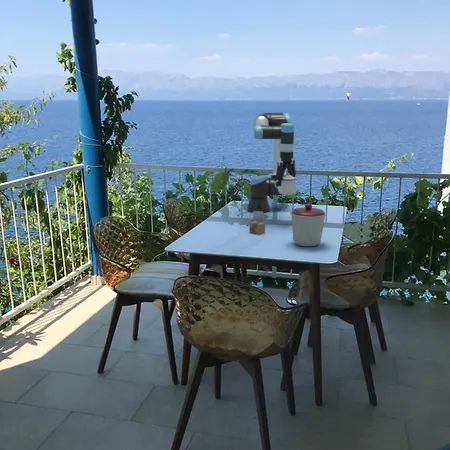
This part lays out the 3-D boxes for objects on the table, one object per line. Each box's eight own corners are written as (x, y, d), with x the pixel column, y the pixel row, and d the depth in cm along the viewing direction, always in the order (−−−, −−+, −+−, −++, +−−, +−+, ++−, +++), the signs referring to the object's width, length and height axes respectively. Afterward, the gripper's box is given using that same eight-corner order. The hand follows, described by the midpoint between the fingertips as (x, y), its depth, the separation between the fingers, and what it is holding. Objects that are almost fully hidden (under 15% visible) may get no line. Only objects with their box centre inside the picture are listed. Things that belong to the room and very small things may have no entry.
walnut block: (249, 232, 262) (249, 222, 260) (255, 231, 265) (255, 220, 264) (259, 235, 257) (259, 224, 256) (264, 233, 261) (265, 223, 259)
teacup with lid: (296, 192, 275) (296, 172, 272) (293, 195, 266) (294, 174, 263) (275, 191, 278) (276, 171, 275) (272, 193, 270) (273, 173, 267)
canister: (300, 237, 253) (302, 198, 248) (331, 243, 242) (333, 203, 237) (282, 244, 240) (283, 204, 234) (313, 251, 228) (315, 209, 223)
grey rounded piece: (250, 225, 278) (250, 212, 276) (257, 223, 283) (257, 210, 281) (258, 227, 274) (258, 213, 272) (265, 225, 279) (265, 211, 277)
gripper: (280, 153, 256) (279, 193, 262) (303, 150, 272) (301, 188, 277) (269, 152, 261) (268, 192, 267) (292, 149, 277) (291, 187, 282)
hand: (285, 190), depth 272 cm, fingers closed on teacup with lid, 9 cm apart
